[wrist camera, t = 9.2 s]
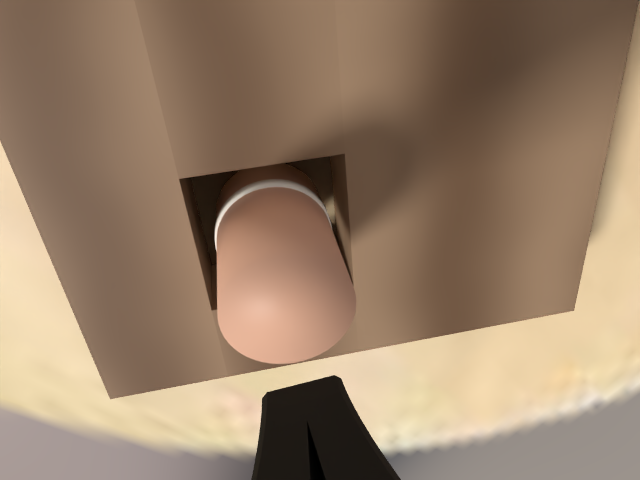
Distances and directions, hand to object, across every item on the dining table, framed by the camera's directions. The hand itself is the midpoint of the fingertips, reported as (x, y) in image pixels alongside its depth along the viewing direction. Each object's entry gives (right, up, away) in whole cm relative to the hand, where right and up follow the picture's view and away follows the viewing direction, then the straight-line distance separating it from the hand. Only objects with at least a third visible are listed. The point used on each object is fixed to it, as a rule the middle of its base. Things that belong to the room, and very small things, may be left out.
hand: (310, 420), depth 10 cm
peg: (-2, +5, +8) cm, 9 cm away
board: (0, +6, +7) cm, 9 cm away
